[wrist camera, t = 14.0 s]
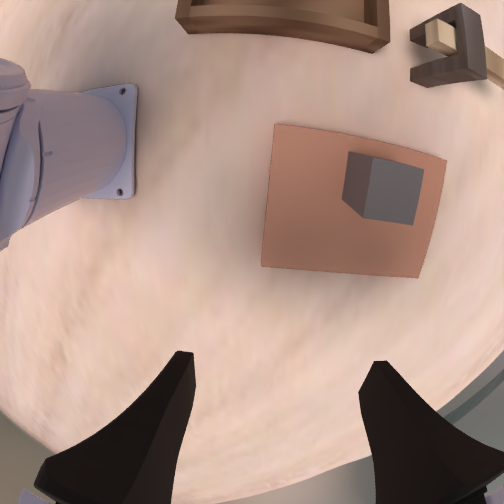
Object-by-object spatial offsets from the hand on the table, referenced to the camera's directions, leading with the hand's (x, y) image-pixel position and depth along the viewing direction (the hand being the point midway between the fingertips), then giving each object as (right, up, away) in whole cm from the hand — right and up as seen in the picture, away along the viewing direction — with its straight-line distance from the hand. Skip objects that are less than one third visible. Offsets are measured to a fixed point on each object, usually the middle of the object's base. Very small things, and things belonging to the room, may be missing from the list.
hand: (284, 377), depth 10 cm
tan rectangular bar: (+12, +17, -1) cm, 21 cm away
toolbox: (+3, +22, +2) cm, 22 cm away
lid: (+6, +8, +8) cm, 13 cm away
